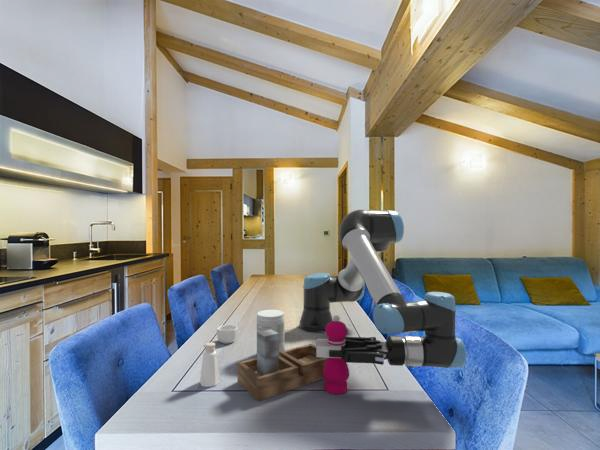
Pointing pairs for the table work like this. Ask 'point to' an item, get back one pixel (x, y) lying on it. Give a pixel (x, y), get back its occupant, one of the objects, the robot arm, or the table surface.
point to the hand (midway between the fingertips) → (316, 347)
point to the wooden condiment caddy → (278, 367)
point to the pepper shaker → (209, 366)
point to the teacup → (227, 333)
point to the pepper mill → (336, 359)
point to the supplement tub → (272, 324)
